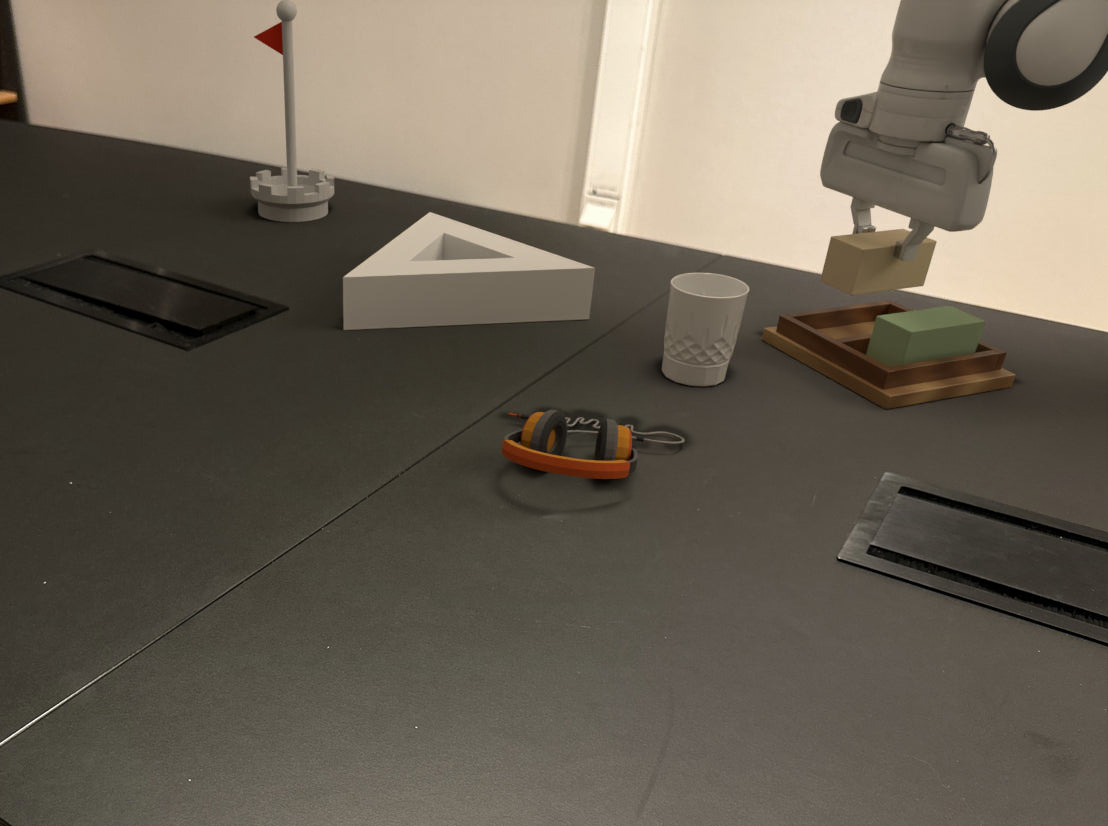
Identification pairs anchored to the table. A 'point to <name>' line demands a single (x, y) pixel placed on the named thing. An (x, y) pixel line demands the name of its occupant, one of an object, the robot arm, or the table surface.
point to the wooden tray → (840, 354)
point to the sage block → (923, 335)
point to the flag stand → (289, 146)
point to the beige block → (874, 263)
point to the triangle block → (462, 281)
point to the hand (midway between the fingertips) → (881, 250)
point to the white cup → (702, 327)
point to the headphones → (548, 439)
